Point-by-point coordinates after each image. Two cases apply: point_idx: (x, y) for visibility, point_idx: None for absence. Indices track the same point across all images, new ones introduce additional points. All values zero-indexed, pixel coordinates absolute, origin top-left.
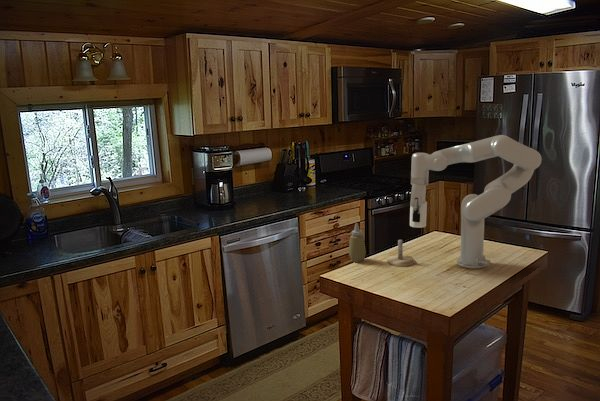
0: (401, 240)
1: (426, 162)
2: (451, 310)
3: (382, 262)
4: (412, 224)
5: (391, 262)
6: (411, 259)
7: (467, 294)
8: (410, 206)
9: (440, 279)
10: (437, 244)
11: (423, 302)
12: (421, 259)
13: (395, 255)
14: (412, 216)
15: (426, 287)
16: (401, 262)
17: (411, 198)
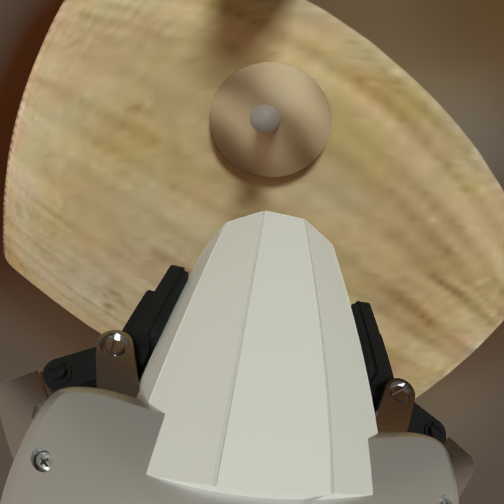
0: (259, 126)
1: None
2: (17, 266)
3: (256, 47)
4: (208, 245)
5: (222, 85)
6: (269, 167)
7: (75, 303)
8: (218, 381)
9: (127, 260)
10: (467, 270)
11: (17, 219)
12: (315, 206)
13: (319, 96)
14: (188, 292)
15: (70, 223)
16: (222, 126)
17: (1, 499)
